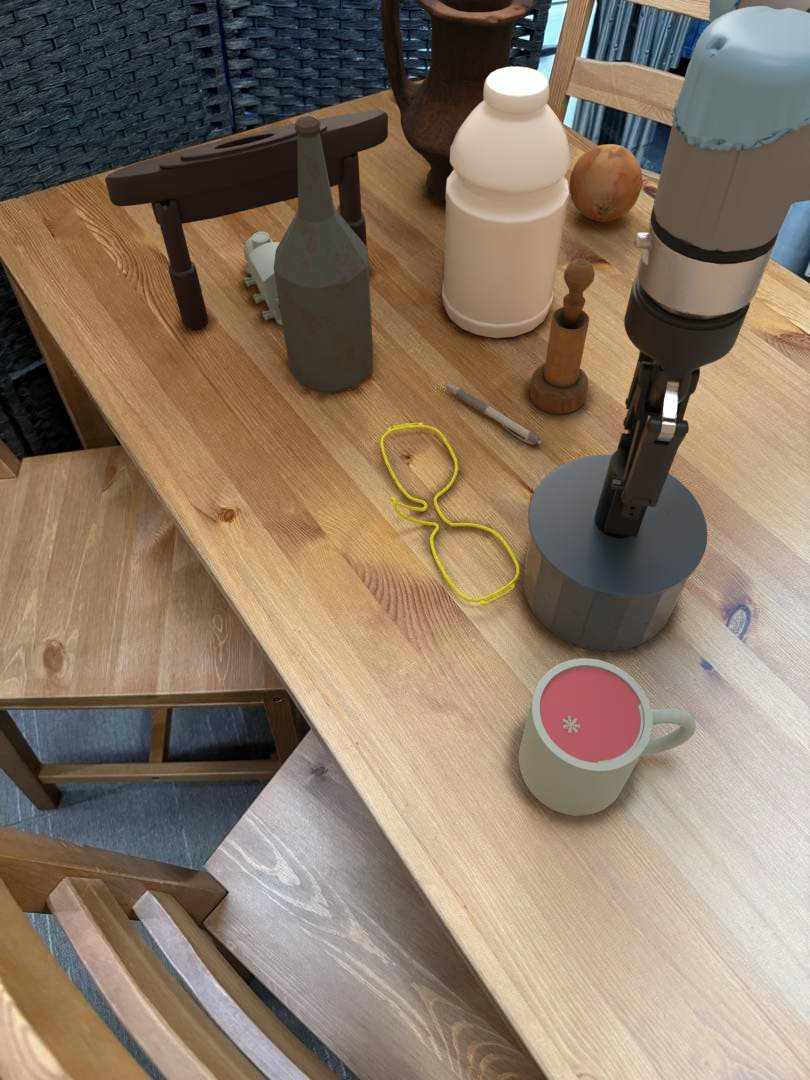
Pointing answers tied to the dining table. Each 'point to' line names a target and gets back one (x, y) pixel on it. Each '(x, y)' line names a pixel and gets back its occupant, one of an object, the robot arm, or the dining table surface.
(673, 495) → the lid
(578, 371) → the mortar and pestle
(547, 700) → the mug
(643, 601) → the pot
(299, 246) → the bottle
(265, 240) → the stool
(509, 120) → the bottle
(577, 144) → the dining table surface
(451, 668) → the dining table surface
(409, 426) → the glasses
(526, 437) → the pen
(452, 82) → the jug
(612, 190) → the onion
